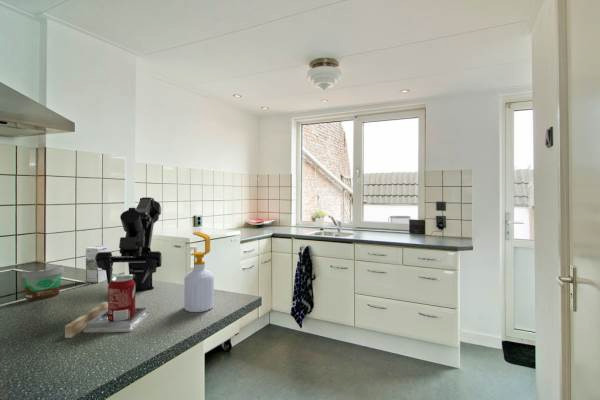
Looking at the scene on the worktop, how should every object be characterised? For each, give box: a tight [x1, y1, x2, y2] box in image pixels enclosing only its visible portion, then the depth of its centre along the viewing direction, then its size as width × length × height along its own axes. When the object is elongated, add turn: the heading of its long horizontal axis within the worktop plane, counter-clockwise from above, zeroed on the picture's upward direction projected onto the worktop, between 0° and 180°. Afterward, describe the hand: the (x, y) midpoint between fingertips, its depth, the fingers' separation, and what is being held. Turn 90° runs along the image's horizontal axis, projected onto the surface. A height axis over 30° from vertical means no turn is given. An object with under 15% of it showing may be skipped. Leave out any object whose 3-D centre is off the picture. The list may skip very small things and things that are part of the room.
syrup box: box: [85, 245, 108, 284], centre depth 134 cm, size 6×6×14 cm
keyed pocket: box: [83, 307, 150, 334], centre depth 92 cm, size 12×12×2 cm
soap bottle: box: [183, 231, 215, 313], centre depth 104 cm, size 9×9×25 cm
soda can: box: [107, 275, 136, 321], centre depth 92 cm, size 7×7×12 cm
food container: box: [20, 264, 65, 301], centre depth 113 cm, size 12×6×10 cm, turn 148°
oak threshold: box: [64, 301, 108, 339], centre depth 91 cm, size 18×2×3 cm, turn 4°
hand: (125, 283), depth 99 cm, fingers open, 9 cm apart
